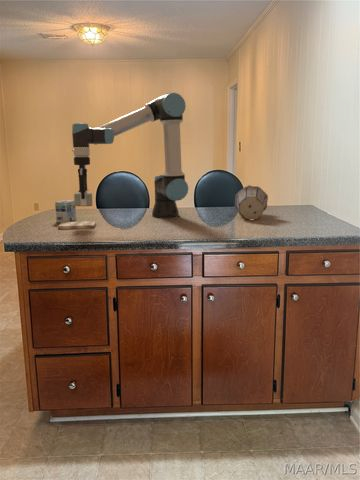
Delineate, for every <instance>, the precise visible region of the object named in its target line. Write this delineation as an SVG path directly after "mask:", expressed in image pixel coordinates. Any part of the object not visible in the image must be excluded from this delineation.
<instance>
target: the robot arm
mask: <svg viewBox="0 0 360 480" xmlns="http://www.w3.org/2000/svg"><path fill="white" fill-rule="evenodd" d="M186 107H187V106H186V101H185V99H184V97H182V95H181V94H179V93H177V92H168V93H166V94H163V95H160V96H158V97H157V98H155V99H153V100H151V101H150V102H147V103H146V104H145V105H144V106H143V107H142V108H139V109H137V110H135V111H131V112H130V113H128V114H125V115H123V116H120V117H118V118H116V119H114V120H112V121H110V122H109V121H108V122H107V123H105V124H102V125H100V126H98V127H89V123H84V122H83V123H81V122H75V123H73V124H72V126H71V127H72V131H71V134H72V146H73V149H72V150H71V152H73V156H74V157H73V165H75V166H78V169H77V172H78V173H77V174H78V184H79V185H78V187H79V190H78V192H77V193H80V201H81V206H80V207H88V206H87V203H86V193H88V191H89V188H88V174H87V172H88V169H87V167H86V166H89V165H91V158H90V156H91V153H90V145H111V144H113V143H114V141H115V137H116V136H117V137H118V136H119V135H121V134H123V133H126V132H128V131H130V130H133V129H135V128H137V127H140V126H143V125H144V124H146V123H149V122H151V123H154V122H156V121H159V122H160V123H161V124H162V126H163V145H164V147H163V151H164V166H165V168H164V169H165V172H164V173H163V174H158V175H155V176H154V206H153V208H152V211H151V214H152V217H153V218H160V219H161V218H166V219H167V218H168V219H169V218H175V217H176V216H177V217H179V215H180V213H179V212H180V211H179V209H178V205H177V201H182V200H183V199H185V198H186V196H187V195H188V193H189V186H188V183H187V181H186V177H185V175H186V174H185V172H183V171H182V168H183V167H182V147H181V123H182V122H183V121H184V119H183V117H184V116H183V114H184V112H185V111H186Z"/></svg>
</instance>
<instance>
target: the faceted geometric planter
mask: <svg viewBox="0 0 360 480" xmlns="http://www.w3.org/2000/svg"><path fill="white" fill-rule="evenodd" d="M268 199H269V195H268V194H267V192H266V191H264V190H263V189H262V188H261V187H260V186H258V185H257V186H255V185H249V184H248V185H247V186H244V187H243V188H242V189H240V190H239V191H238V192H237V193H236V194H235V196H234V208H235V209H236V210H237V211H238V214H239V216H240V217H241V218H242V219H244V220H245V219H256V220H257V219H258V218H260V217H261V216H262V215H263V214H264V212H265V211H266V210H267V208H268Z"/></svg>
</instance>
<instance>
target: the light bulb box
mask: <svg viewBox="0 0 360 480" xmlns="http://www.w3.org/2000/svg"><path fill="white" fill-rule="evenodd" d="M54 204H55V205H54V206H55V207H54V208H55V218H56V219H55V220H56V223H61V222H75V221H76V220H77V213H76V212H77V211H76V210H77V209H76V206H75V202H74V199H63V200H58V201H55V202H54Z"/></svg>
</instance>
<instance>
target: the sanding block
mask: <svg viewBox="0 0 360 480" xmlns="http://www.w3.org/2000/svg"><path fill="white" fill-rule="evenodd" d="M73 195H74V196H73V198H74V199H73V200H74V202H75V207H82V206H81V201H80V192H74V194H73ZM86 203H87V206H86V207H92V206H93V192H87V193H86Z"/></svg>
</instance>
